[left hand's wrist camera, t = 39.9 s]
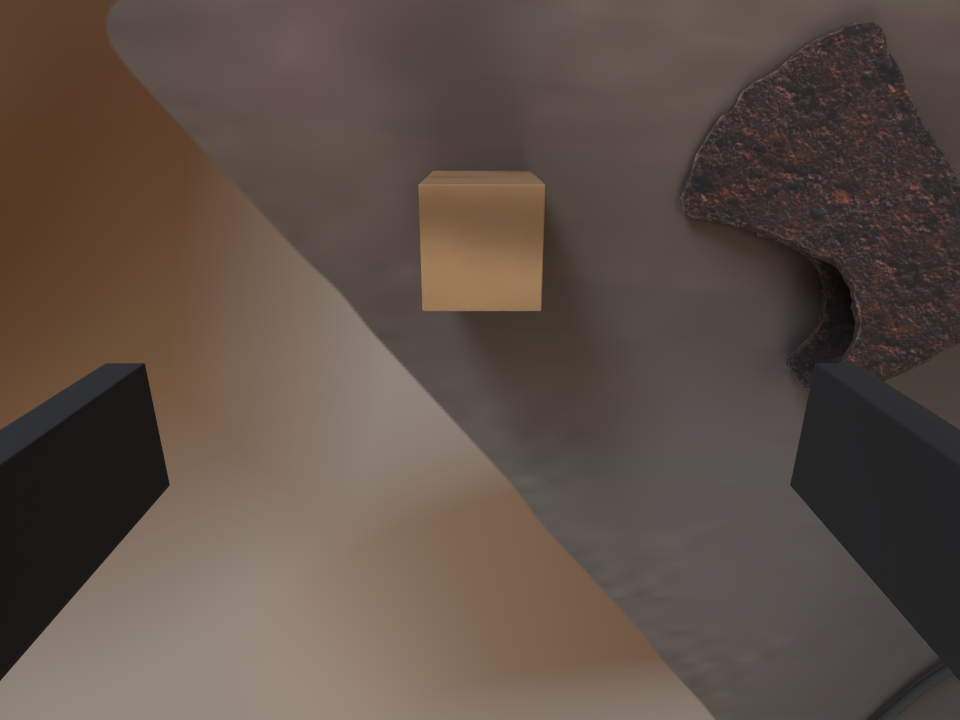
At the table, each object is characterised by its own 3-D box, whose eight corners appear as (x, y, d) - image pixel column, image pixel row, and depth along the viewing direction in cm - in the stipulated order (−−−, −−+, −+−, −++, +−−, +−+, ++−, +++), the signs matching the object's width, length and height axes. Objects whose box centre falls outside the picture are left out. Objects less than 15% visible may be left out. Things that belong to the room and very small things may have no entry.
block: (527, 269, 39) (541, 311, 30) (435, 269, 39) (422, 311, 30) (529, 170, 37) (546, 184, 28) (432, 170, 37) (418, 184, 28)
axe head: (626, 198, 35) (883, -27, 28) (635, 181, 42) (842, -2, 35) (829, 431, 37) (1117, 272, 30) (805, 378, 44) (1034, 239, 37)
